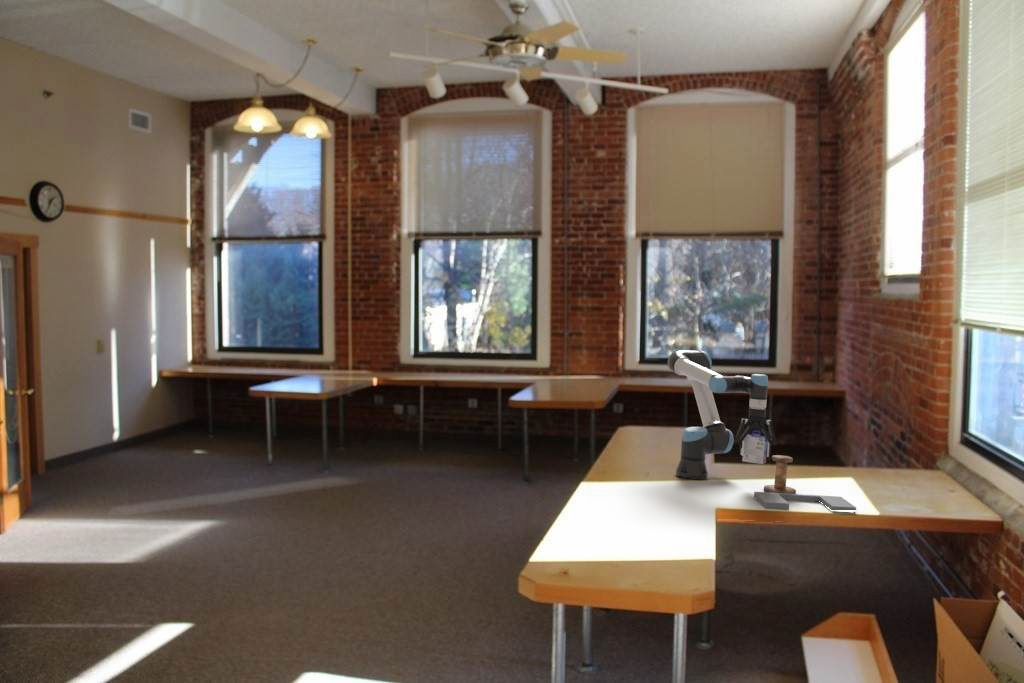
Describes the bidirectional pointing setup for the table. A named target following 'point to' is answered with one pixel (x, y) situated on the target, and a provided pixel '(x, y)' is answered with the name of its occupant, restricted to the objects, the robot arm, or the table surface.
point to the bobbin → (780, 476)
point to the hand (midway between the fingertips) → (754, 455)
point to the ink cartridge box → (755, 448)
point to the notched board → (780, 500)
